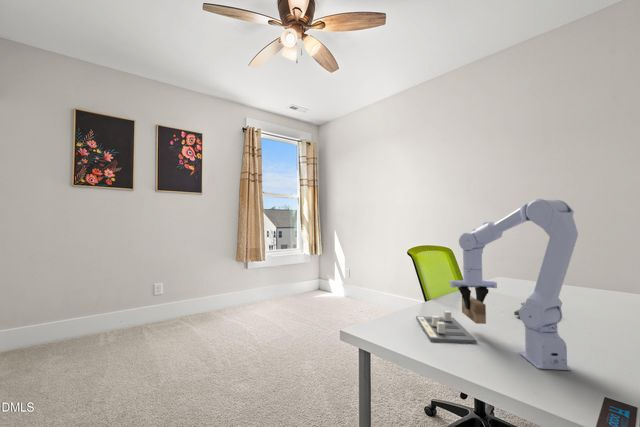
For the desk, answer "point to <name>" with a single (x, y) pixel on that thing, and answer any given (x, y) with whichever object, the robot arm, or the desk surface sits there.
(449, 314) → the tab
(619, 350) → the desk surface
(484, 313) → the pusher bar
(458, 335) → the switch board
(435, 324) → the tab
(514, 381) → the desk surface
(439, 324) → the beige small block
